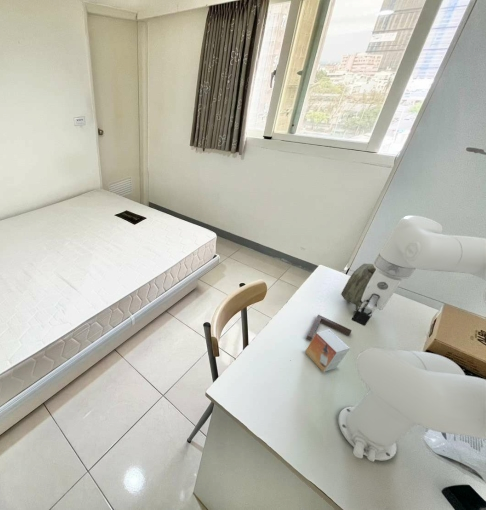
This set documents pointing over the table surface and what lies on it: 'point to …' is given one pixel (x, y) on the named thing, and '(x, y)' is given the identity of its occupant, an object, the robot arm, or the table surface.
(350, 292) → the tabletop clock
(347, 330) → the corner stop
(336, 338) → the small box
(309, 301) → the table surface
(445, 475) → the table surface
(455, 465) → the table surface
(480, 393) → the robot arm
